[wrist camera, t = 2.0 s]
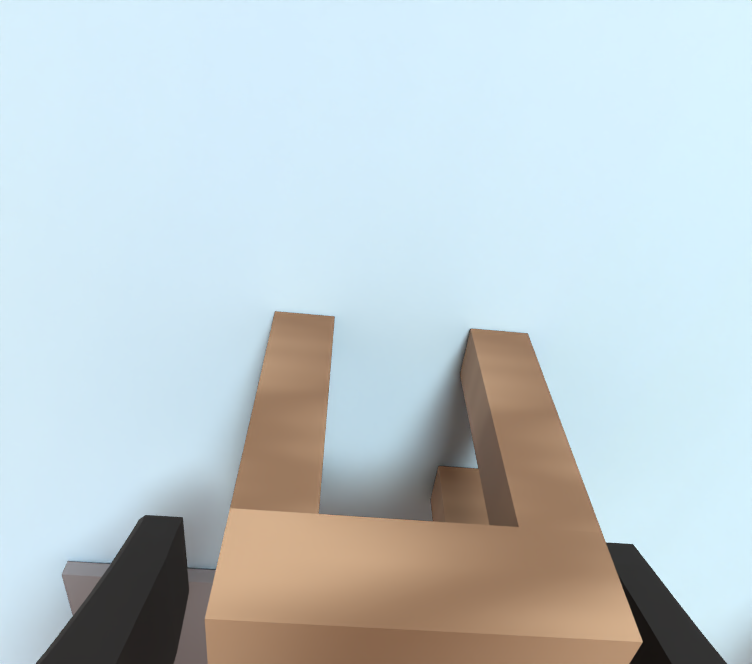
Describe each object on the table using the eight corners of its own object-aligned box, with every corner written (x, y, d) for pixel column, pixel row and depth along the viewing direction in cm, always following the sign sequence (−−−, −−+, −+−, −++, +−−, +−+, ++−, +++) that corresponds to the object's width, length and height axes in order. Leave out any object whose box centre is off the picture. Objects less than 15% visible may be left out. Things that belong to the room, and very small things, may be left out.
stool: (527, 333, 13) (642, 642, 8) (477, 503, 16) (534, 814, 10) (274, 311, 13) (204, 618, 7) (270, 488, 16) (217, 804, 10)
